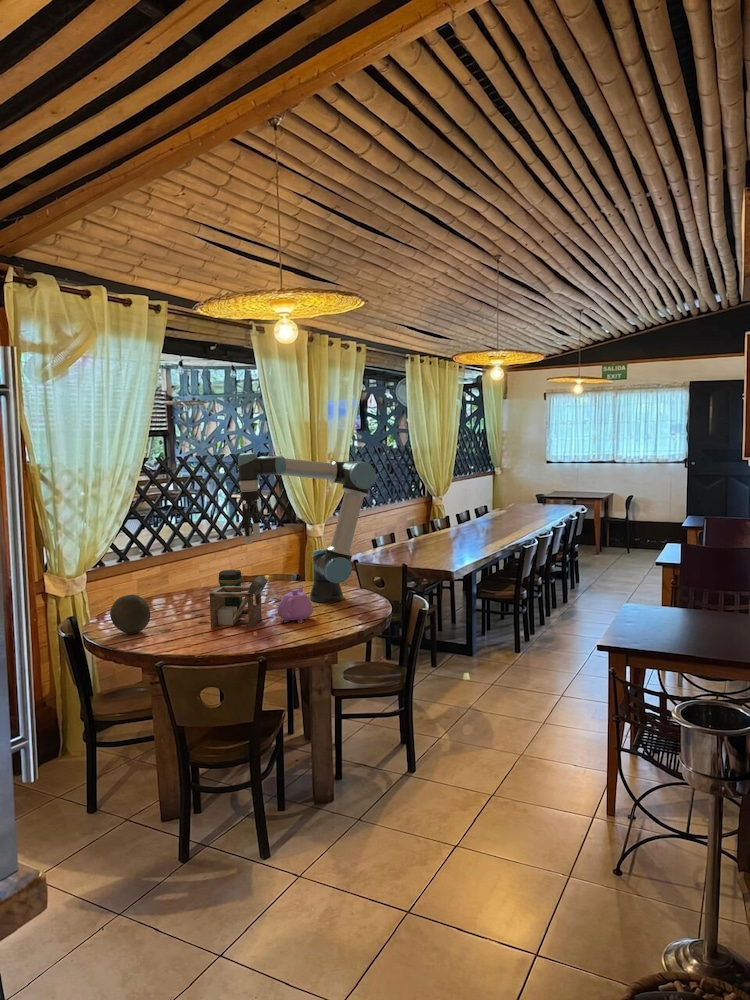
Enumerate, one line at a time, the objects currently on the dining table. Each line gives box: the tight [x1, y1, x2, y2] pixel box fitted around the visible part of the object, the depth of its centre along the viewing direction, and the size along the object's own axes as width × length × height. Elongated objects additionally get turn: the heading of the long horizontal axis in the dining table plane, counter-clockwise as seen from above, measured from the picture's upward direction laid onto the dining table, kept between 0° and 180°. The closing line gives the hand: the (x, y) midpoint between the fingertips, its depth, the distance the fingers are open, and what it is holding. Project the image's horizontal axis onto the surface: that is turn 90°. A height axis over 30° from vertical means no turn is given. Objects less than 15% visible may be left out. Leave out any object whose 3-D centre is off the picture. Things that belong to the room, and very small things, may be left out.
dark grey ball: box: [109, 594, 151, 635], centre depth 258 cm, size 14×14×15 cm
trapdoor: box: [232, 575, 269, 621], centre depth 270 cm, size 19×8×4 cm
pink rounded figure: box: [277, 584, 314, 624], centre depth 274 cm, size 20×14×12 cm
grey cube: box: [217, 607, 238, 626], centre depth 271 cm, size 6×6×6 cm
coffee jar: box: [217, 569, 244, 613], centre depth 286 cm, size 10×8×19 cm
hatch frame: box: [209, 585, 263, 628], centre depth 271 cm, size 17×13×14 cm
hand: (252, 541), depth 282 cm, fingers open, 13 cm apart
